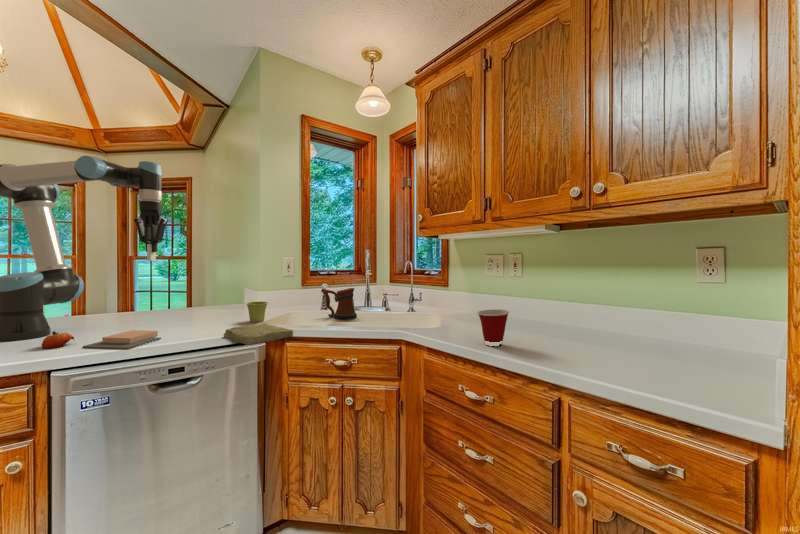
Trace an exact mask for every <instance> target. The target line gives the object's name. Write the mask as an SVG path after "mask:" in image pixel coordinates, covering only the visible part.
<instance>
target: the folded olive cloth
mask: <svg viewBox="0 0 800 534" xmlns="http://www.w3.org/2000/svg"><path fill="white" fill-rule="evenodd" d="M223 337H224V338H227V339H231V340H232V341H234V342H236V343H238V344H239V343H240V344H243V345H246V346H252V345H257V344H263V343H268V342H272V341H277V340H281V339H287V338H291V337H294V330H293V329H290V328H286V327H282V326H277V325H273V324H272V325H271V324H268V323H258V324H256V323H255V324H254V323H253V324H246V325H242V326H234V327H233V326H232V327H231V328H227V329H226V330H225V332H224V333H223Z"/></svg>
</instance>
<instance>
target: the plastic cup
mask: <svg viewBox="0 0 800 534" xmlns="http://www.w3.org/2000/svg"><path fill="white" fill-rule="evenodd" d="M509 313H510V311H509V310H507V309H497V308H496V309H484V310H479V311H477V315H478V316H479V320H480V324H481V331H482V336H483V341H484V340H485V341H489V342H500V341H504V336H505V330H506V325H507V321H508V315H509Z"/></svg>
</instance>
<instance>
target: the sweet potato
mask: <svg viewBox="0 0 800 534" xmlns="http://www.w3.org/2000/svg"><path fill="white" fill-rule="evenodd" d="M51 334H52V335H51ZM51 334H49V335H46V337H44V339H43V340H42V343H41V348H42V349H45V350H47V349H61V348H60V347H63V348H64V346H65V345H66V344H67V343H68V342H69V343H70V341H71V340H73V341H75V336H73V335H72V334H70V333H67V332H61V333H59V332H57V331H56V330H54V331H52V333H51Z"/></svg>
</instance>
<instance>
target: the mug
mask: <svg viewBox="0 0 800 534" xmlns="http://www.w3.org/2000/svg"><path fill="white" fill-rule="evenodd" d="M354 291H355V287H350V288H346V289H340V290H337V291H334V290H329V289H325V288H321V290H320V292H321V293H323V294H324V295H325V299H326V300H325V307H326V308H327V309H328V310H330V312H331V313H328V314H327V316H328V317H329V318H334V319H338V320H352V319H356V318H357V317H358V314H357V313H356V311H355V307H354V300H353V299H354ZM329 294H333V295H334V298H333V299H334V301H335V303H338V304H337V308H336V310H335V309H334V308H333V307H332V306H331V297H330V295H329Z"/></svg>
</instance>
